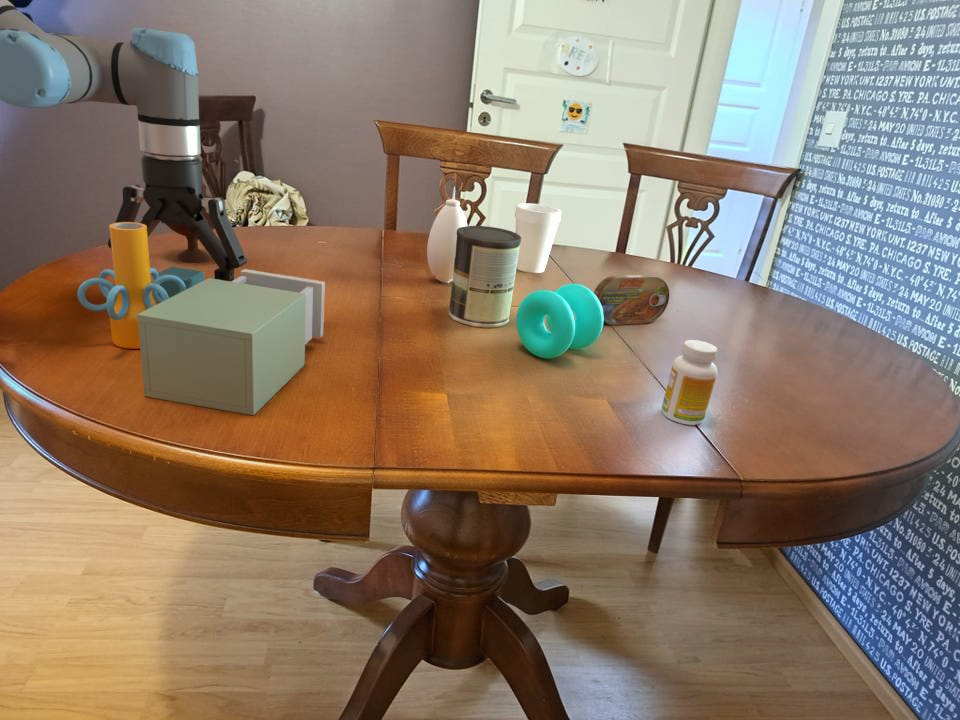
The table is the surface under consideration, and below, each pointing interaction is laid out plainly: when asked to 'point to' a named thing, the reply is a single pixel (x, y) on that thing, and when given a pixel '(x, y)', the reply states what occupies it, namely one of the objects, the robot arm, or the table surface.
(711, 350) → the supplement bottle
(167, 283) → the teal cube
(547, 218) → the foam cup
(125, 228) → the cylinder
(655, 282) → the tin
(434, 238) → the sauce bottle
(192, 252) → the ice cream bowl
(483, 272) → the coffee can
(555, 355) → the donuts
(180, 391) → the green box
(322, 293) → the light grey drawer
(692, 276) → the table surface
